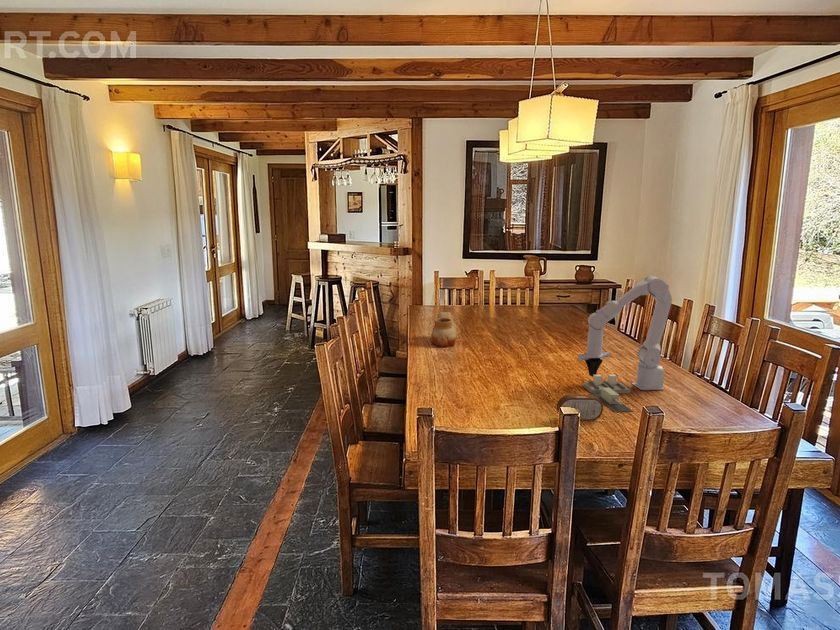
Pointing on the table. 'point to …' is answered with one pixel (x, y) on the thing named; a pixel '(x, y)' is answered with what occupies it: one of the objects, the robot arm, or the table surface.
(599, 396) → the tool mat
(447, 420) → the table surface
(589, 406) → the tin
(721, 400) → the table surface
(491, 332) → the table surface
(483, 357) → the table surface
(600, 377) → the tab
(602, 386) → the switch panel
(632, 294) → the robot arm
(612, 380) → the tab
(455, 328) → the ceramic vessel
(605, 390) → the driver
